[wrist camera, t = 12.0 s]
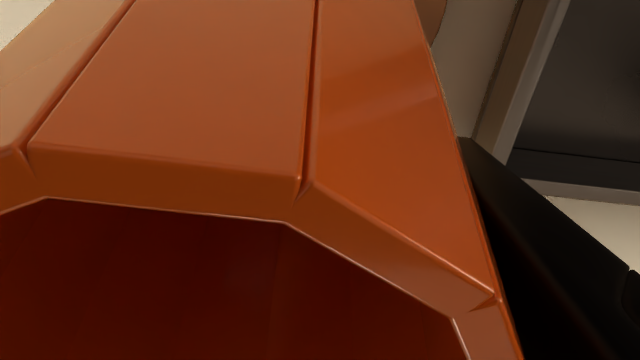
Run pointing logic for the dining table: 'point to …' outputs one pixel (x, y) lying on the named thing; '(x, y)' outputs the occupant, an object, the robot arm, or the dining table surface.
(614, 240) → the dining table surface
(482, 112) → the drip tray
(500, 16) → the dining table surface
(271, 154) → the orange cup
